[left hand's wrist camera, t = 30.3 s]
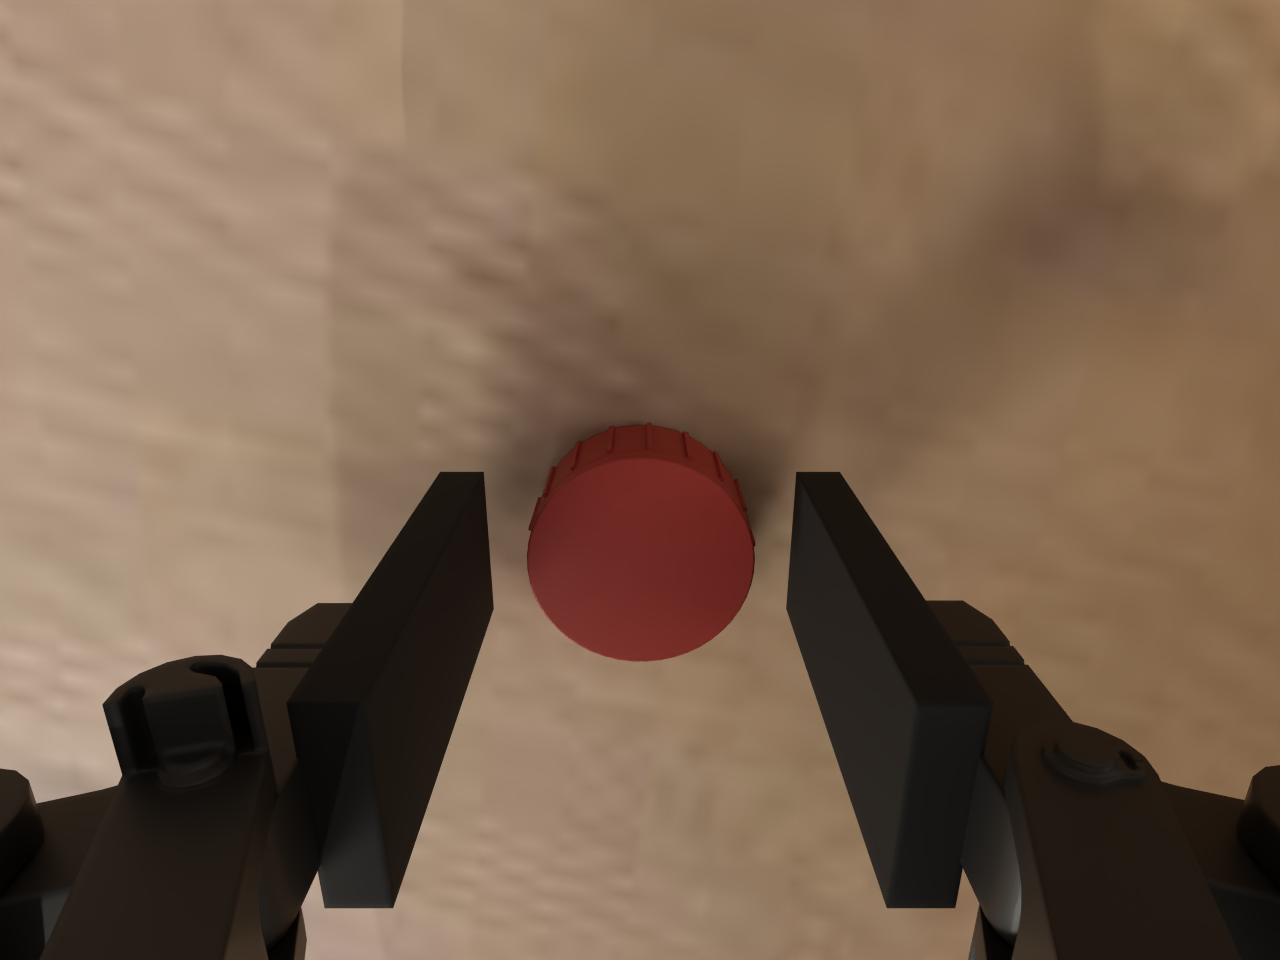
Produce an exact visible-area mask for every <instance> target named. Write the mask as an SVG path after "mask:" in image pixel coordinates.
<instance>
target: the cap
mask: <svg viewBox="0 0 1280 960" xmlns="http://www.w3.org/2000/svg"><path fill="white" fill-rule="evenodd" d="M745 511H747V508H746V505H745V502H744V499H743V496H742V493H741V489H740V486H739V483H738V481H737V479H736V480H733V478H732V476H731V475H730V473H729V471H728V470H727V468H726V467H725V466H724V464H723V463H722V462H721V460H720V458H719V454H718V453H717V452H716V451H715V452H714V453H713V452H712V451H710V450H709V449H708V448H707V447H705V446H704V445H703V444H701V443H700V442H698V441H696V440H695V439H693V438H691V437H689V435H688V432H685V431H684V432H683V434H682V433H680V432H677V431H674V430H671V429H667V428H663V427H656V426H652V423H647V425H634V426H625V427H619V428H615V429H614V426H611V427H609V430H607V431H605V432H602V433H599V434H597V435H594V436H593V437H591V438H589V439H587V440H585V441H583V442H582V443H581V442H580V441H578V442H577V443H576V444H575V448H574V449H572V450H571V451H570V452H569V453H568V454H567V455H566V456H565V457H564V458H563V459H562V460H561V462H560V463H559V464H558V465H557V467H554V466H553V467H552V468H551V470H550V473H549V477H548V480H547V483H546V486H545V489H544V491H543V494H542V498H540V497H538V500H537V503H536V506H535V510H534V513H533V516H532V519H531V522H530V525H529V529H528V530H530V531H531V535H530V539H529V543H528V552H527V566H528V574H529V579H530V584H531V587H532V590H533V592H534V595H535V597H536V599H537V601H538V603H539V605H540V607H541V609H542V610H543V612H544V613H545V614H546V616H547V617H548V619H549V620H550V621H551V622H552V623H553V624H554V625H555V626H556V628H557V629H558V630H560V631H561V632H562V633H563V634H564V635H565V636H567V637H568V638H569V639H571V640H572V641H574V642H575V643H577V644H578V645H580V646H582V647H584V648H586V649H588V650H590V651H592V652H595V653H597V654H600V655H603V656H606V657H610V658H614V659H618V660H626V661H655V660H663V659H667V658H672V657H676V656H679V655H682V654H685V653H688V652H690V651H692V650H694V649H696V648H698V647H700V646H702V645H703V644H705V643H707V642H708V641H710V640H711V639H713V638H714V637H715V636H716V635H718V634H719V633H720V632H721V631H722V630H723V629H724V628H725V627H726V626H727V625H728V624H729V623H730V622H731V621H732V620H733V618H734V617H735V616H736V614H737V613H738V611H739V610H740V608H741V607H742V605H743V603H744V601H745V599H746V597H747V595H748V592H749V589H750V586H751V583H752V578H753V574H754V563H755V554H754V546H755V540H754V537H753V534H752V530H751V527H750V524H749V521H748V518H747V514H746V512H745Z"/></svg>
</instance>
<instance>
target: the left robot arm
mask: <svg viewBox="0 0 1280 960" xmlns="http://www.w3.org/2000/svg"><path fill="white" fill-rule="evenodd" d="M493 609H494V606H493V593H492V579H491V566H490V552H489V539H488V525H487V512H486V498H485V484H484V472H440V473H439V475H438V476H437V478H436V479H435V481H434V482H433V484H432V485H431V487H430V488H429V490H428V491H427V493H426V494H425V496H424V497H423V499H422V500H421V502H420V503H419V505H418V506H417V508H416V509H415V511H414V512H413V514H412V515H411V517H410V518H409V520H408V521H407V523H406V524H405V526H404V527H403V529H402V530H401V532H400V533H399V535H398V536H397V538H396V539H395V541H394V542H393V544H392V545H391V547H390V548H389V549H388V551H387V552H386V554H385V555H384V557H383V558H382V560H381V561H380V563H379V564H378V566H377V567H376V569H375V570H374V572H373V573H372V575H371V576H370V578H369V579H368V581H367V582H366V584H365V585H364V587H363V588H362V590H361V591H360V593H359V594H358V596H357V597H356V599H355V600H354V602H353V603H317V604H316V605H314V606H313V607H311V608H310V609H308V610H306V611H305V612H303V613H302V614H300V615H299V616H297V617H296V618H294V619H293V620H291V621H289V622H288V623H287V624H286V626H285V627H284V628H283V630H282V631H281V632H280V633H279V635H278V636H277V637H276V639H275V640H274V641H273V642H272V644H271V649H267V650H266V651H265V653H264V654H263V655H262V656H261V658H260V659H259V660H258V662H257V663H256V664H257V665H256V668H252V667H251V666H249V665H248V664H247V663H246V662H244V661H243V660H242V659H238V658H234V657H229V656H224V655H207V656H193V657H189V658H184V659H180V660H176V661H171V662H167V663H164V664H162V665H160V666H157V667H155V668H152V669H150V670H147V671H145V672H142V673H140V674H138V675H137V676H135V677H134V678H132V679H130V680H129V681H127V682H126V683H124V684H123V685H121V686H120V687H118V688H117V689H116V690H115V691H114V692H113V693H112V694H111V695H110V697H109V698H108V699H107V700H106V701H105V702H104V703H103V709H104V712H105V716H106V719H107V723H108V726H109V730H110V733H111V737H112V740H113V744H114V747H115V751H116V754H117V758H118V761H119V765H120V768H121V772H122V777H121V780H120V782H119V784H118V785H117V786H114V787H110V788H107V789H103V790H98V791H94V792H89V793H84V794H80V795H75V796H70V797H66V798H61V799H56V800H51V801H47V802H42V803H37V804H36V801H35V798H34V795H33V792H32V789H31V786H30V783H29V780H27V779H26V778H25V777H24V776H22V775H21V774H20V773H18V772H17V771H15V770H7V769H0V960H304V959H305V950H306V942H307V938H306V931H305V924H304V919H303V914H302V909H301V906H302V903H303V901H304V899H305V897H306V895H307V893H308V890H309V888H310V886H311V884H312V882H313V880H314V877H315V875H316V873H317V871H318V875H319V880H320V885H321V891H322V896H323V901H324V907H325V908H393V907H394V904H395V901H396V898H397V895H398V892H399V889H400V886H401V883H402V880H403V877H404V874H405V871H406V868H407V865H408V862H409V859H410V856H411V853H412V850H413V847H414V844H415V841H416V838H417V835H418V832H419V830H420V827H421V824H422V821H423V818H424V815H425V812H426V809H427V806H428V803H429V800H430V797H431V794H432V791H433V788H434V785H435V782H436V779H437V776H438V773H439V770H440V767H441V764H442V761H443V758H444V755H445V752H446V749H447V746H448V743H449V740H450V737H451V734H452V731H453V728H454V725H455V722H456V719H457V716H458V713H459V710H460V707H461V704H462V701H463V699H464V696H465V693H466V690H467V687H468V684H469V681H470V678H471V675H472V672H473V669H474V666H475V663H476V660H477V657H478V654H479V651H480V648H481V645H482V642H483V639H484V636H485V633H486V630H487V627H488V624H489V621H490V618H491V615H492V612H493ZM786 609H787V612H788V615H789V618H790V621H791V624H792V627H793V630H794V633H795V636H796V639H797V642H798V645H799V648H800V651H801V654H802V657H803V660H804V663H805V666H806V669H807V672H808V675H809V678H810V681H811V684H812V687H813V690H814V692H815V695H816V698H817V701H818V704H819V707H820V710H821V713H822V716H823V719H824V722H825V725H826V728H827V731H828V734H829V737H830V740H831V743H832V746H833V749H834V752H835V755H836V758H837V761H838V764H839V767H840V770H841V773H842V776H843V779H844V782H845V785H846V788H847V791H848V794H849V797H850V800H851V803H852V806H853V809H854V812H855V815H856V818H857V821H858V823H859V826H860V829H861V832H862V835H863V838H864V841H865V844H866V847H867V850H868V853H869V856H870V859H871V862H872V865H873V868H874V871H875V874H876V877H877V880H878V883H879V886H880V889H881V892H882V895H883V898H884V901H885V904H886V907H887V908H955V907H956V901H957V896H958V891H959V885H960V880H961V875H962V869H964V871H965V873H966V875H967V878H968V880H969V882H970V884H971V886H972V888H973V891H974V893H975V895H976V897H977V899H978V901H979V903H980V904H979V909H978V914H977V919H976V924H975V929H974V934H973V939H972V944H971V948H970V953H969V958H968V960H1280V765H1278V766H1270V767H1265V768H1263V769H1262V770H1261V771H1259V772H1258V773H1257V774H1256V775H1254V776H1253V777H1252V780H1251V783H1250V786H1249V789H1248V792H1247V795H1246V798H1245V800H1241V799H1236V798H1232V797H1227V796H1222V795H1217V794H1213V793H1208V792H1203V791H1198V790H1194V789H1189V788H1184V787H1179V786H1176V785H1172V784H1168V783H1165V782H1161V780H1160V778H1159V776H1158V774H1157V773H1156V771H1155V770H1154V769H1153V767H1152V766H1151V765H1150V763H1149V762H1148V760H1147V759H1146V758H1145V756H1143V755H1142V754H1141V753H1139V752H1138V751H1137V750H1135V749H1134V748H1132V747H1131V746H1130V745H1128V744H1127V743H1126V742H1124V741H1123V740H1121V739H1119V738H1117V737H1115V736H1112V735H1110V734H1108V733H1106V732H1104V731H1102V730H1100V729H1098V728H1094V727H1090V726H1086V725H1083V724H1079V723H1075V722H1073V721H1072V720H1071V719H1070V718H1069V716H1068V715H1067V714H1066V712H1065V711H1064V710H1063V709H1062V707H1061V706H1060V705H1059V704H1058V702H1057V701H1056V700H1055V699H1054V697H1053V696H1052V695H1051V693H1050V692H1049V691H1048V690H1047V688H1046V687H1045V686H1044V685H1043V683H1042V682H1041V681H1040V680H1039V678H1038V677H1037V676H1036V674H1035V673H1034V672H1033V671H1032V669H1031V668H1030V667H1029V666H1028V665H1025V664H1024V659H1023V658H1022V657H1021V655H1020V654H1019V653H1018V652H1017V650H1016V649H1015V648H1014V647H1013V646H1010V641H1009V640H1008V639H1007V638H1006V636H1005V635H1004V634H1003V633H1002V631H1001V630H1000V629H999V628H998V626H997V625H996V624H995V622H994V621H993V620H992V619H991V618H989V617H987V616H986V615H984V614H983V613H981V612H980V611H978V610H976V609H975V608H973V607H972V606H970V605H969V604H967V603H966V602H964V601H926V600H925V599H924V597H923V596H922V594H921V593H920V591H919V590H918V588H917V587H916V585H915V584H914V582H913V581H912V579H911V578H910V576H909V575H908V573H907V572H906V570H905V569H904V567H903V566H902V564H901V563H900V561H899V560H898V558H897V557H896V555H895V554H894V552H893V551H892V549H891V548H890V546H889V545H888V543H887V542H886V540H885V539H884V537H883V536H882V535H881V533H880V532H879V530H878V529H877V527H876V526H875V524H874V523H873V521H872V520H871V518H870V517H869V515H868V514H867V512H866V511H865V509H864V508H863V506H862V505H861V503H860V502H859V500H858V499H857V497H856V496H855V494H854V493H853V491H852V490H851V488H850V487H849V485H848V484H847V482H846V481H845V479H844V478H843V476H842V475H841V473H840V472H796V485H795V498H794V512H793V525H792V539H791V552H790V566H789V579H788V593H787V607H786Z"/></svg>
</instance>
